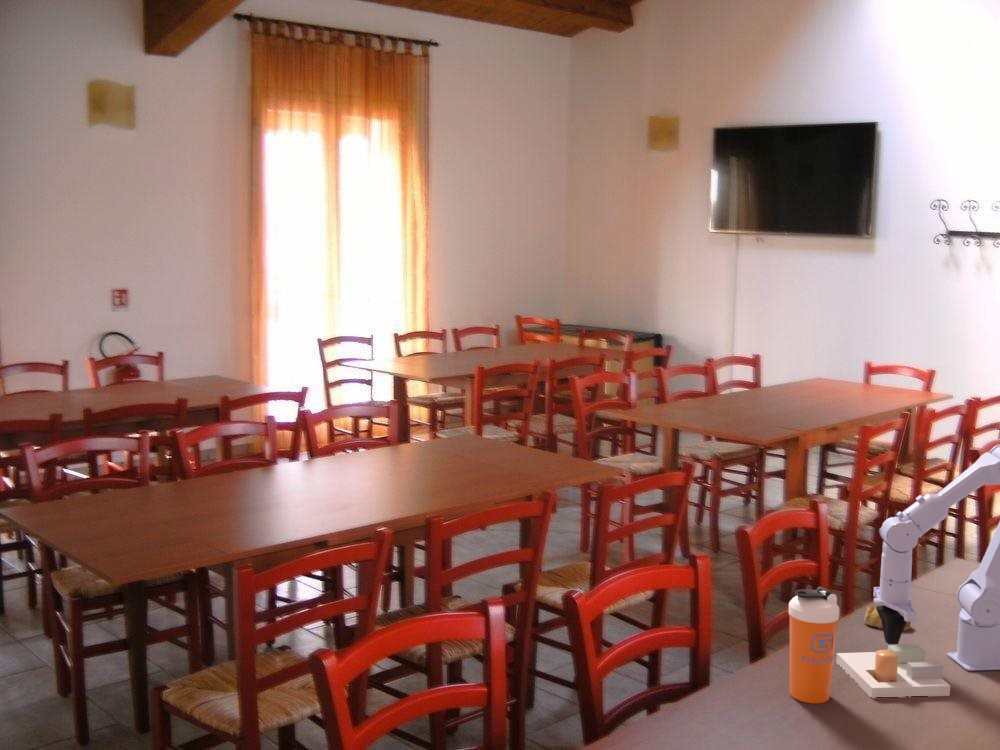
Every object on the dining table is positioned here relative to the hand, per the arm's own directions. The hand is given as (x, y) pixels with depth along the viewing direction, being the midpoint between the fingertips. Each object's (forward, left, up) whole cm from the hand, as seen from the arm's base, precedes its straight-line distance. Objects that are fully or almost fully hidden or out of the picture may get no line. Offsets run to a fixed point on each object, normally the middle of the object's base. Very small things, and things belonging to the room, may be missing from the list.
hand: (891, 643), depth 208 cm
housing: (+4, +9, -3) cm, 11 cm away
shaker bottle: (+23, +15, -3) cm, 28 cm away
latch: (0, +6, -1) cm, 6 cm away
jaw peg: (+7, +12, -3) cm, 15 cm away
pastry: (-7, -18, -4) cm, 20 cm away
